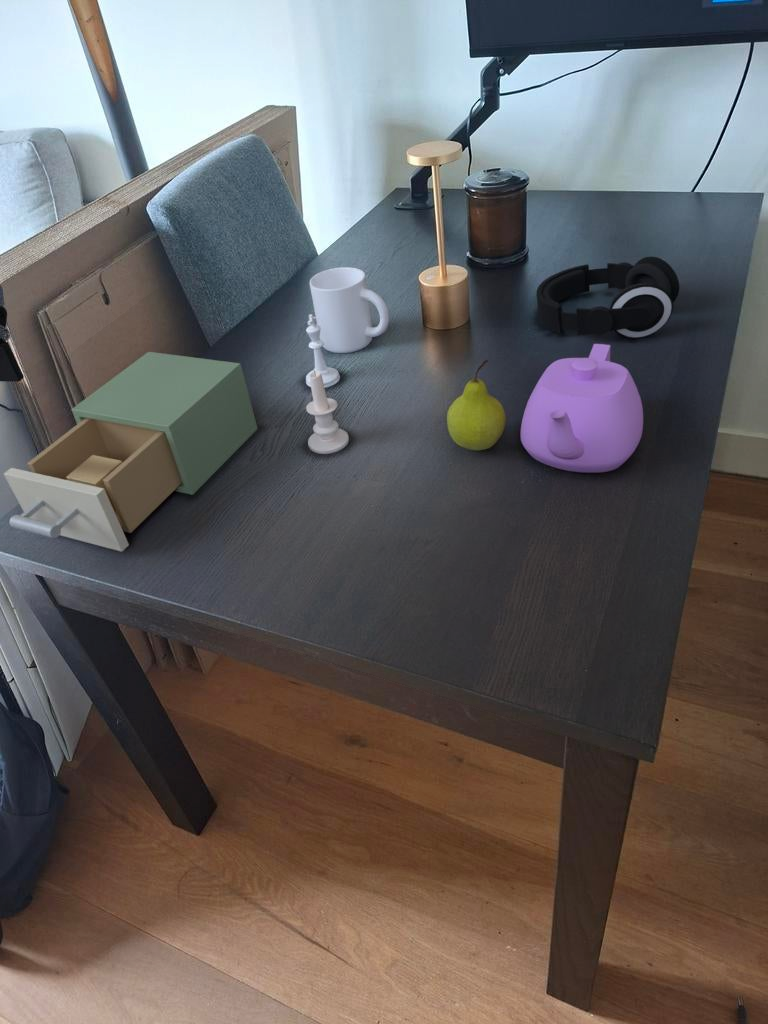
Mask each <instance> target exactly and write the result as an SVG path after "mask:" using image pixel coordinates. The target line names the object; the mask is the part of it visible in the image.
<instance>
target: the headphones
mask: <svg viewBox="0 0 768 1024" xmlns="http://www.w3.org/2000/svg"><path fill="white" fill-rule="evenodd" d="M603 284H604V285H605V284H607V288H608V289H619V290H621V291H619V292H618V293H617V294H616V295H615V297H614V298H613V299H612V301H611V303H610V307H609V308H608V307H605V306H600V305H598V306H594V307H592V308H584V307H583V308H581V307H577V308H576V309H575V312H576V313H573V312H566V311H565V312H563V307H562V304H561V303H560V302H562V301H564V300H567V299H568V298H571V297H574V296H576V295H578V294H579V295H580V294H583V293H587V292H590V286H594V285H603ZM535 293H536V302H537V311H538V312H537V313H538V314H537V315H538V322H539V323H540V325H541V326H542V327H543V328H545V329H546V330H548V331H550V332H552V333H555V334H558V335H560V336H561V335H563V334H565V330H573V331H577V335H578V336H584V335H594V336H602V335H603V336H604V335H605V334H606V335H607V333H609V332H615V333H616V334H618V335H620V336H622V337H624V338H629V339H641V338H645V337H648V336H651V335H653V334H655V333H657V332H659V331H660V330H661V329H662V328H663V327H665V325H666V324H667V323H668V321H669V320H670V318H671V316H672V314H673V310H674V303H675V301H676V300H677V299H678V296H679V293H680V281H679V278H678V275H677V273H676V272H675V270H674V268H673V267H672V266H671V265H670V264H669V263H668V262H667V261H665V260H664V259H662V258H660V257H657V256H652V255H651V256H645V257H643V258H641V259H639V260H638V261H637V262H636V263H635V264H631V263H630V262H625V261H623V262H619V263H614V262H613V263H612V262H607V264H606V267H603V268H592V269H590V265H589V264H582V265H578V266H574V267H569V268H567V269H564V270H562V271H559V272H556V273H555V274H552V275H550V276H549V277H546V279H544V280H543V281H542V282H541V283H540V284H539V285H538V287H537V289H536V292H535Z"/></svg>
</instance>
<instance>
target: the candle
mask: <svg viewBox="0 0 768 1024" xmlns="http://www.w3.org/2000/svg"><path fill="white" fill-rule="evenodd" d="M313 370H314V369H313ZM310 383H311V387H310V390H311V395H312V401H310V402H308V403H307V405H306V407H305V410H306V412H307V413H308V414H309V415H312V416H314V420H315V424H314V425H313V427H312V430H313V433H312V434H311V435H310V437H308V440H307V445H308V448H309V450H310V451H311V452H314V453H316V454H320V455H328V454H334V453H337V452H339V451H341V450H343V449H344V448H345V447H346V446H347V445H348V444H349V441H350V436H349V434H348V432H347V431H345V430H344V429H342V428H339V423H338V422H337V421H336V420H334V415H333V413H332V412H334V411H335V410H336V409H337V407H338V401H336V399H333V398H332V397H331V398H330V397H327V393H326V388H324V383H323V379H322V375H321V372H320V371H315V370H314V372H313V373H311V374H310Z"/></svg>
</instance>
